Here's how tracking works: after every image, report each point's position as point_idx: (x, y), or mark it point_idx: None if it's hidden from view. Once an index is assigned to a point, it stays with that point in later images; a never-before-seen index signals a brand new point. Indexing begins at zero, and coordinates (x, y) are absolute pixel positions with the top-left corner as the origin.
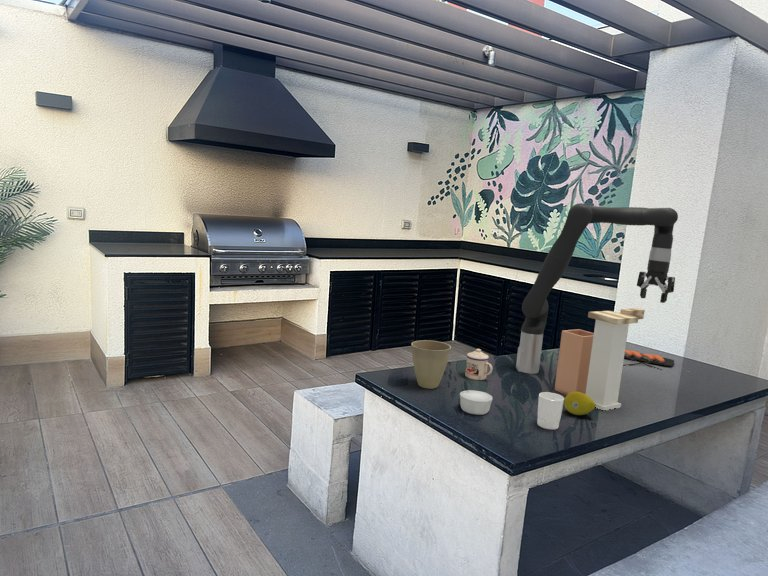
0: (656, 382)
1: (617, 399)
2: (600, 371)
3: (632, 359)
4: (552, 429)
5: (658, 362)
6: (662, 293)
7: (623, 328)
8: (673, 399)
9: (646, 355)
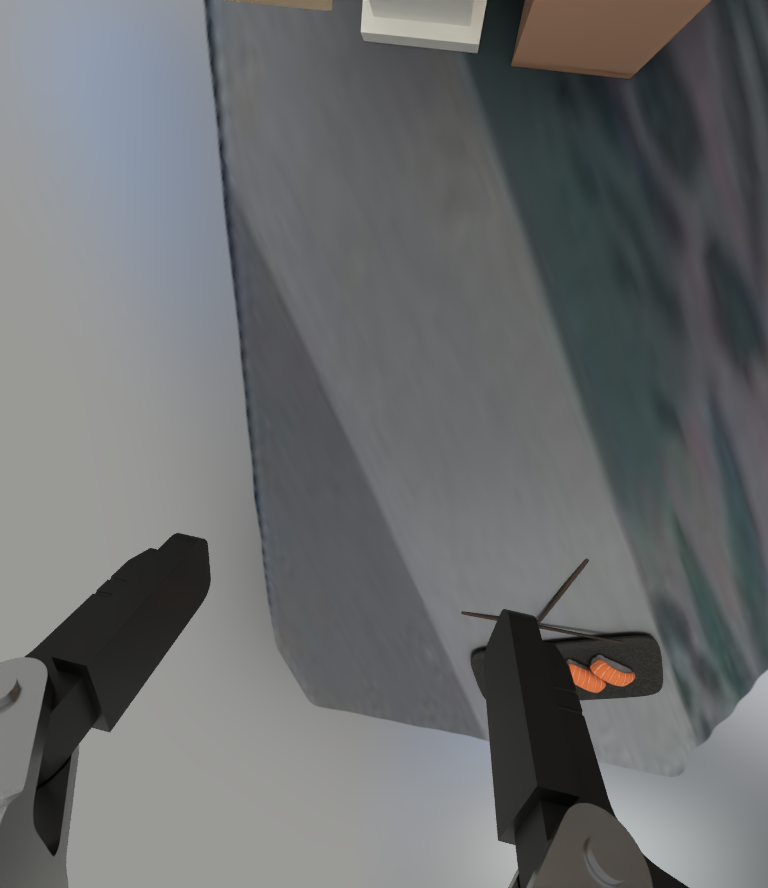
0: (434, 492)
1: (370, 3)
2: None
3: (573, 632)
4: None
5: None
6: (71, 656)
7: None
8: (324, 372)
9: None
